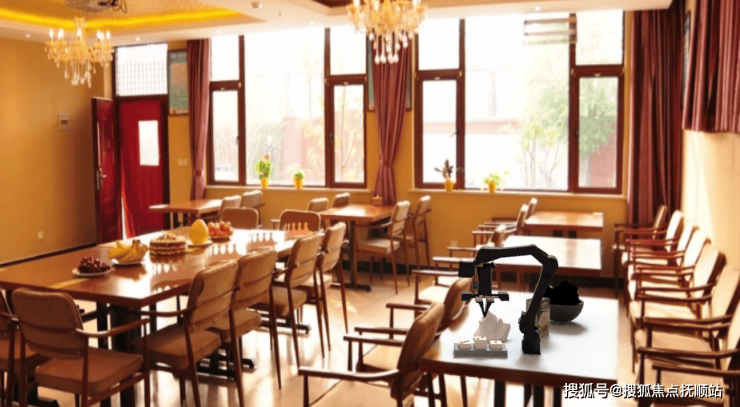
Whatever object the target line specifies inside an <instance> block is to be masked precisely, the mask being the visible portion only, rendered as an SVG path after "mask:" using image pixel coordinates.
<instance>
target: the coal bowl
mask: <svg viewBox="0 0 740 407" xmlns="http://www.w3.org/2000/svg"><path fill="white" fill-rule="evenodd" d="M578 290H579V288H578V287H577V286H576V285H574V284H573V283H570V282H569V281H568V280H566V279H565V280H563V281H562V282H560V283H559V285H558V286H554V287H553V288H552V287H551V286H550V285H549V284H548V286H547V288H546V291H545V293H544V296H543V297H545V298H550V320H549V321H551V322H554V323H559V324H565V323H566V324H567V323H570V322H571V321H574V320H575V319H577V318H578V317H579V315H581V313H582V312H583V309H584V306H585V301H584V300H583V299H581V298H580V295H579V293H578Z"/></svg>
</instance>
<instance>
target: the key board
mask: <svg viewBox="0 0 740 407" xmlns="http://www.w3.org/2000/svg"><path fill="white" fill-rule="evenodd" d="M453 349H454V350H453V351H454V356H455V357H494V358H499V357H500V358H503V357H504V358H508V352H509V351H508V348H507V346H506V343H502V349H490V343H487V349H475V347H474V342H471V349H459V342H454V343H453Z"/></svg>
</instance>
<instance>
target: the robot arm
mask: <svg viewBox="0 0 740 407" xmlns="http://www.w3.org/2000/svg"><path fill="white" fill-rule="evenodd" d="M527 256H532V257H533V259H534V260H536V261H537V262H538V263H539V264H540V265H541V270H540V275H539V278H538V282H537V284H536V286H535V289H534V291H533V294H532V297H531V298H532V299H531V301H530V304H529V307H528V309H527V310H526V309H525V311H524V310H521V312H520V316H519V318H518V319H517V324H518V330H519V332H520V333H521V335H522V339H521V340H520V341H521V351H522V353H523V355H542V352H541V338H540V336H539V328H538V327H537V326H536V325H535V320H536V314H537V311H538V309H539V306H540V304H541V301H542V298H543V296H544V293H545V291H546V288H547V286H548V285H549V283H550V281H551V279H552V278H553V276H554V275H555V273H557V270H558V269H559V259H558V257H556V256H555V255H554V254H549V253H547V252H546V251H544V250H543V249H541V248H540V247H538V246H537V244H535V243H530V244H526V245H525V244H524V245H523V244H522V245H514V246H505V247H503V246H502V247H497V246H490V245H489V246H487V245H484V246H481V247H479V249H478V250H477V252H476V257H475V258H473V260H472V261H470V260H468V261H467V260H459V261H458V270H457V276H458V278H459V279H473V278H474V277H477V278H476V280H477V281H472V284H471V285H472V291H476V293H472V292H471V291H470V290H461V291H460V296H459V297H460V301H461V302H470V301H471V300H472V299H474V302H475V304H478V306H479V307H480V310H481V314H482V317H484V318H486V315H487V313H488V310H489V309H490V308H491V306H492V304H495V299H499V300H500V302H510V294H509V292H508V291H507V290H504V291H503V290H501V291H500V290H499V291H497V293H493V290H492V289H493V269H496V268H497V266H498V265H497V264H496V263H495V261H496V260H500V259H505V258H506V259H507V258H513V257H527ZM483 299H485V304H484V300H483Z"/></svg>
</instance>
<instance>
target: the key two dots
mask: <svg viewBox="0 0 740 407" xmlns="http://www.w3.org/2000/svg"><path fill="white" fill-rule="evenodd" d="M473 343H474V347H475V349H487V340H486V337H480V336H474V335H473Z"/></svg>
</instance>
